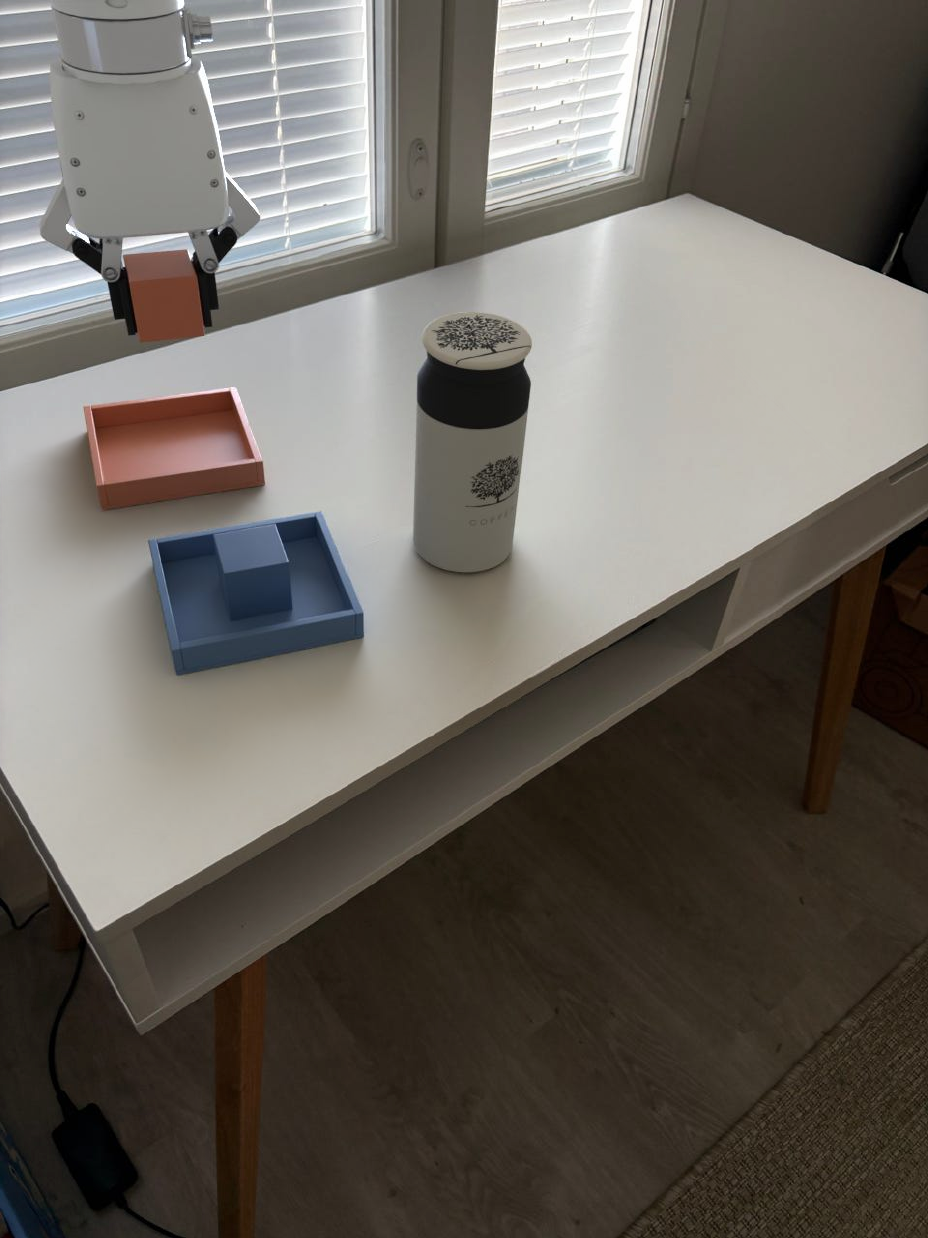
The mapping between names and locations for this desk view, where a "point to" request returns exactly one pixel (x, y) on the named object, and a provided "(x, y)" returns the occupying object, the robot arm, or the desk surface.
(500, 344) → the travel mug
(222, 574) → the blue block
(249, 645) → the blue tray
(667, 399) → the desk surface
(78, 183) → the robot arm
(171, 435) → the terracotta tray
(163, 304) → the terracotta block
